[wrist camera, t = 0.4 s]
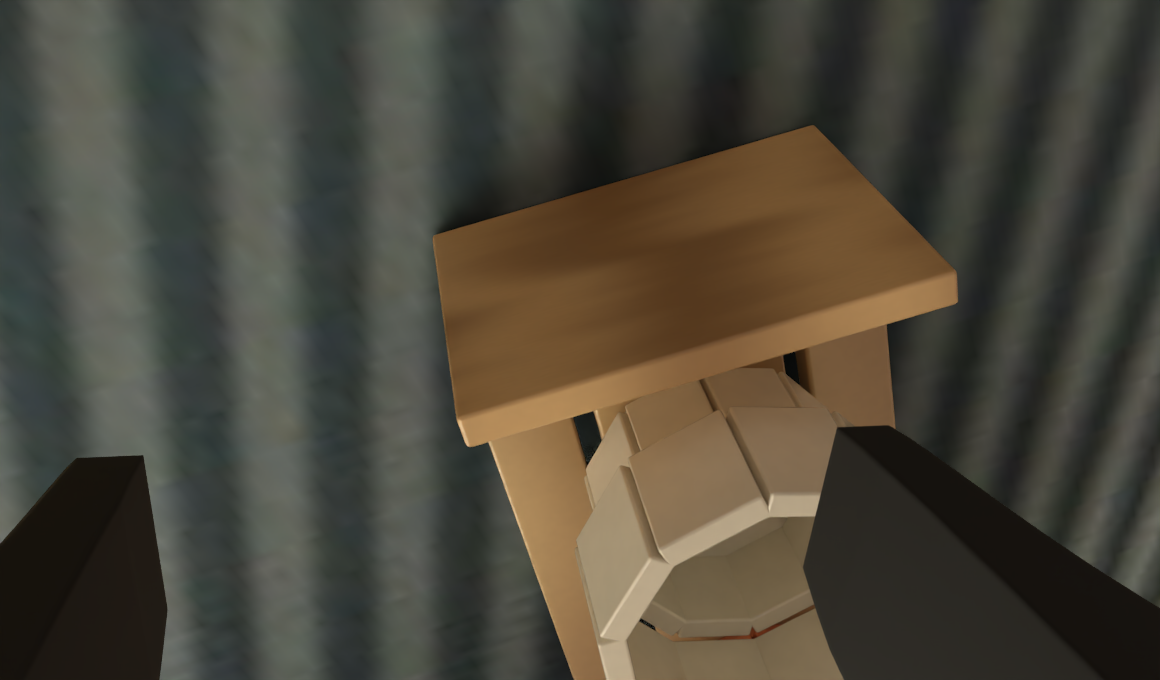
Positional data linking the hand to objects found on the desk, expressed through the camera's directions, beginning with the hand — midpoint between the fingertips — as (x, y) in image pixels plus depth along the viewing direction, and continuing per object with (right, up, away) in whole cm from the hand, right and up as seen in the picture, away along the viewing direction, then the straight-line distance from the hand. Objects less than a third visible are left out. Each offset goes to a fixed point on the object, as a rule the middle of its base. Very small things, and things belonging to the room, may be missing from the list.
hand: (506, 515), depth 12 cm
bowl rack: (+3, -2, +14) cm, 14 cm away
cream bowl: (+3, 0, +9) cm, 10 cm away
